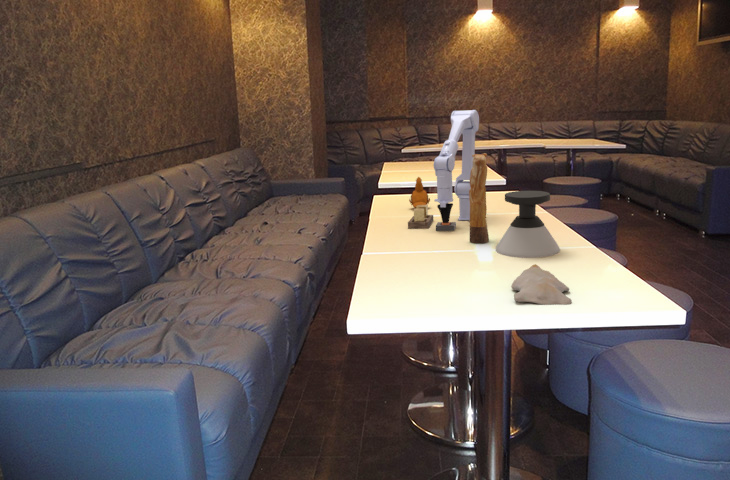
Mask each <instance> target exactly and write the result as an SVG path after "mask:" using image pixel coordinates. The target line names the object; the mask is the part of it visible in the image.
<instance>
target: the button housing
mask: <svg viewBox="0 0 730 480" xmlns="http://www.w3.org/2000/svg"><path fill="white" fill-rule="evenodd" d="M449 222H450V225H442V221H440V222H439V221H437V223H436V224H435V232H449V231H450V232H454V231H455V230H456V228H457V222H456V221H449Z"/></svg>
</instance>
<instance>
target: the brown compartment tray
mask: <svg viewBox="0 0 730 480" xmlns="http://www.w3.org/2000/svg"><path fill="white" fill-rule="evenodd" d="M424 219H425V222H414V215H413V216H412V217H411V218H410V219H409V220H408V221H407V229H408V230H411V229H412V230H414V229H415V230H416V229H417V230H420V229H423V230H424V229H425V230H426V229H429V228H430V227H431V225H432V224H433V222H434V214H428V218H424Z"/></svg>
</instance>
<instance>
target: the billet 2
mask: <svg viewBox="0 0 730 480" xmlns="http://www.w3.org/2000/svg"><path fill="white" fill-rule="evenodd" d="M413 216H414V222H425V219H424V208H420V209H416V208H413Z"/></svg>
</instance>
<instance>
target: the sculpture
mask: <svg viewBox="0 0 730 480" xmlns="http://www.w3.org/2000/svg"><path fill="white" fill-rule="evenodd" d="M487 156H488V154H487V153H485V152H484V153H481V154H479V153H475V154H474V155H472V157H473V167H472V169H471V173H470V180H469V181H470V187H471V189H470V190H469V200H470V220H469V243H472V244H476V245H477V244H478V245H479V244H486V243H488V242H489V241H490V237H489V231H488V230H489V229H488V223H487V219H486V218H487V189H486V183H487V177H488V166H487V158H486V157H487Z"/></svg>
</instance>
